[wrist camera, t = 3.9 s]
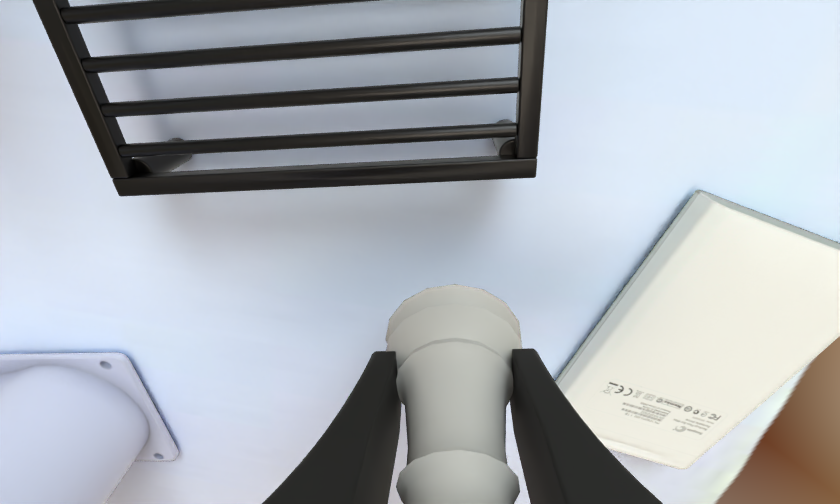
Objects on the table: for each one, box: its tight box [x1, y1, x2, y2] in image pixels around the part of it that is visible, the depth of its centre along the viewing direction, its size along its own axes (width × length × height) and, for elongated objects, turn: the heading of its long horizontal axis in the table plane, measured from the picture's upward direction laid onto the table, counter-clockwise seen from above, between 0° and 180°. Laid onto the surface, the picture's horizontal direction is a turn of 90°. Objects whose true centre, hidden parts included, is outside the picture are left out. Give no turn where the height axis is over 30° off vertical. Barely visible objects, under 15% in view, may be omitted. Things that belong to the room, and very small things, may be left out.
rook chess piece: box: [386, 284, 522, 504], centre depth 11 cm, size 4×4×8 cm
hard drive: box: [555, 190, 840, 469], centre depth 18 cm, size 2×8×12 cm
